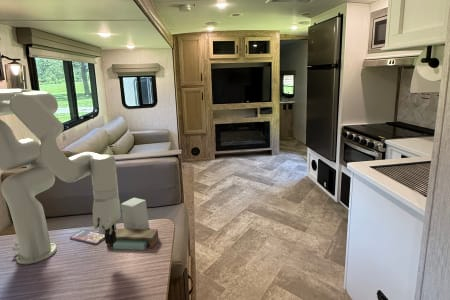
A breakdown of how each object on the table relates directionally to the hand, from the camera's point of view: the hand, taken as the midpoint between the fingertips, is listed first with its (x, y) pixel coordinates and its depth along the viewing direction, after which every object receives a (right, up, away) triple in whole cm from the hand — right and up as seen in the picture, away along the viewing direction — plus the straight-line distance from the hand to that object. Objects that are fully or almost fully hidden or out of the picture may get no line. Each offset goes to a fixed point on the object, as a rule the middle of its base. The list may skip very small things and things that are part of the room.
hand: (110, 242), depth 101 cm
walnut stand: (+4, -4, +13) cm, 14 cm away
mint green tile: (+4, -4, +11) cm, 13 cm away
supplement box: (+2, -2, +23) cm, 23 cm away
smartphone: (-16, -4, +19) cm, 25 cm away
